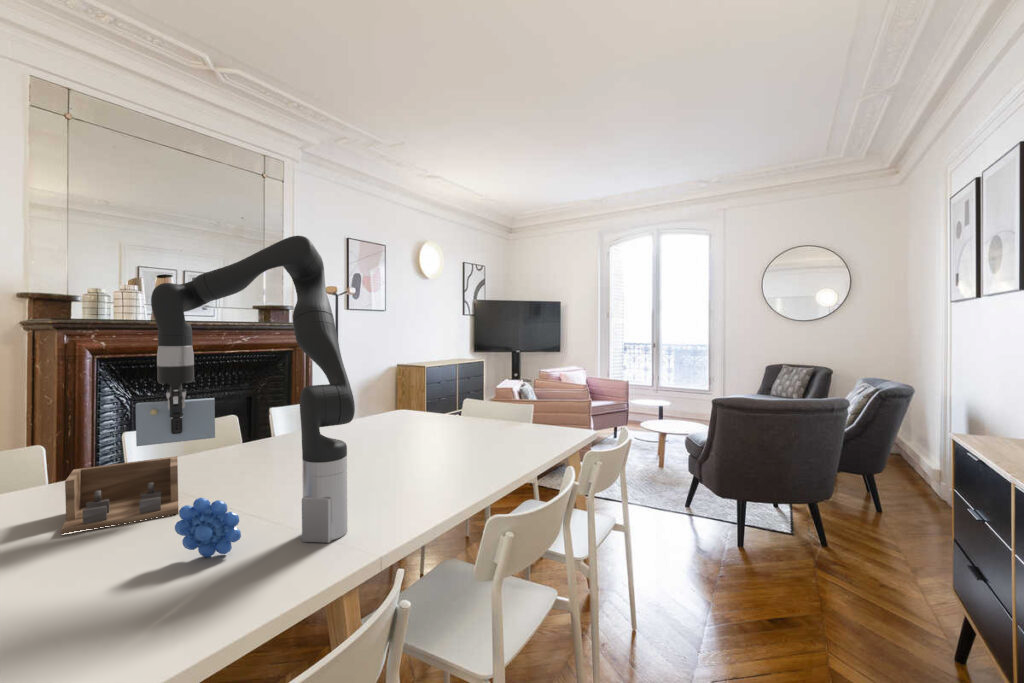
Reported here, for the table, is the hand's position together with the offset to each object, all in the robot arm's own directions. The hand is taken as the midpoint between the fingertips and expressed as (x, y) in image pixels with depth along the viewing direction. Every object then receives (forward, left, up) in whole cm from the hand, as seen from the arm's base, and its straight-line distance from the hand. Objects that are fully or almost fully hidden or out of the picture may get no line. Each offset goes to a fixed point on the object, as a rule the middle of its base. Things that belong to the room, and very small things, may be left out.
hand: (177, 431), depth 119 cm
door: (0, 0, -2) cm, 2 cm away
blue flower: (-24, -26, -20) cm, 40 cm away
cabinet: (-4, +10, -19) cm, 22 cm away
